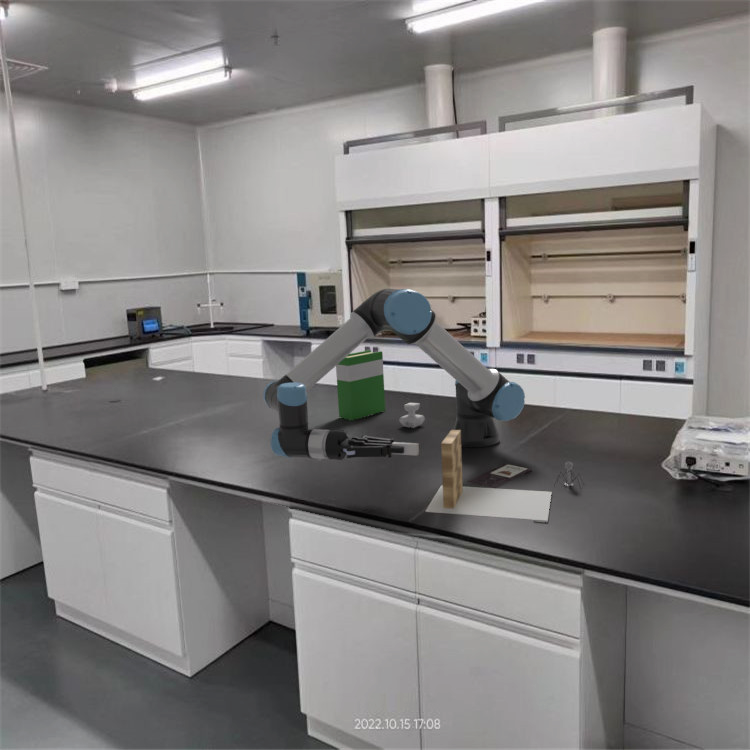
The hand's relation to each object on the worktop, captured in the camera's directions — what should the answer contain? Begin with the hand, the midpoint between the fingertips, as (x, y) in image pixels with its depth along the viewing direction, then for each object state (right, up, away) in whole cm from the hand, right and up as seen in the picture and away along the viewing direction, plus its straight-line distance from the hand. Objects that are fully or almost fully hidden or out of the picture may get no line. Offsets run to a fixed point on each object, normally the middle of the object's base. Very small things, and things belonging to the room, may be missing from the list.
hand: (417, 449), depth 160 cm
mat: (+17, -13, -3) cm, 22 cm away
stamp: (+3, 0, +71) cm, 71 cm away
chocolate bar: (+23, -10, +15) cm, 29 cm away
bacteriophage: (+39, -10, +6) cm, 41 cm away
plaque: (+9, -12, 0) cm, 15 cm away
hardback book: (-15, +3, +93) cm, 94 cm away
